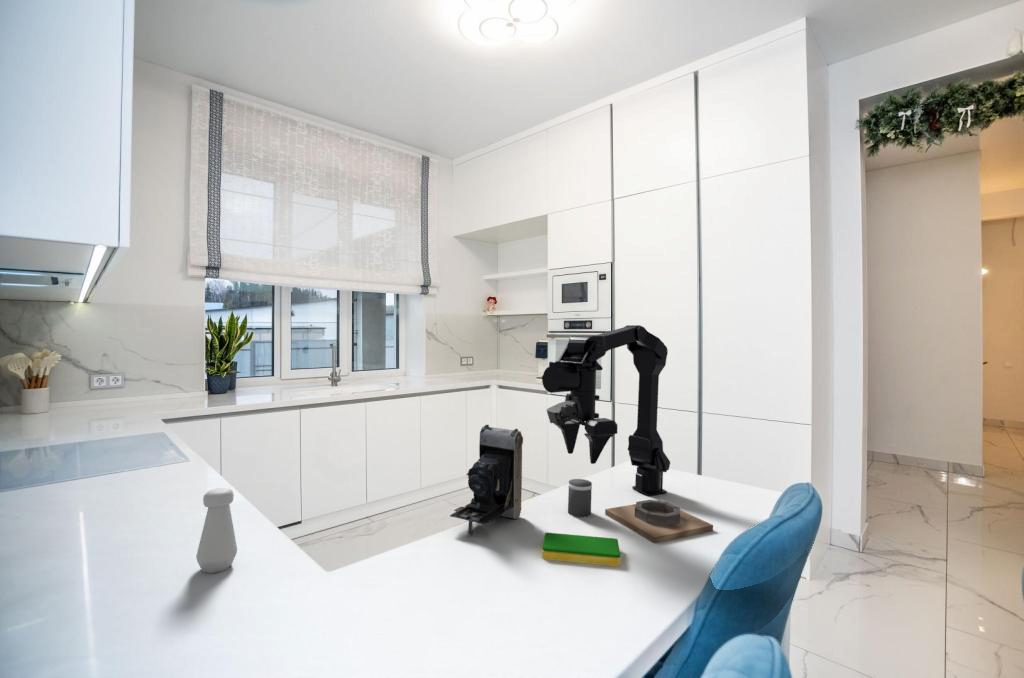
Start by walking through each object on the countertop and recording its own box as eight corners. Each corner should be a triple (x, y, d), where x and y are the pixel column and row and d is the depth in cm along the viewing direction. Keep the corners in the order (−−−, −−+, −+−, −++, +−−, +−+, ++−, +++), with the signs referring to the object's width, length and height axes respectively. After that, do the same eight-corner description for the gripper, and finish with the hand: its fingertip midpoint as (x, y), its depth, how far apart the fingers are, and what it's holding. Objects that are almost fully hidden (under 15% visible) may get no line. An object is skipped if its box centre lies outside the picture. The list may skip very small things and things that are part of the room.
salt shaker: (193, 579, 75) (195, 498, 74) (198, 563, 80) (199, 487, 80) (235, 571, 77) (237, 493, 77) (238, 556, 82) (239, 483, 82)
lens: (582, 507, 111) (583, 477, 111) (595, 515, 106) (596, 484, 106) (563, 510, 108) (564, 480, 108) (575, 518, 104) (576, 487, 104)
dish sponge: (545, 544, 92) (545, 531, 92) (617, 550, 90) (617, 538, 90) (541, 561, 85) (542, 547, 85) (620, 568, 82) (620, 555, 82)
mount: (659, 505, 113) (659, 491, 113) (712, 530, 99) (713, 515, 99) (605, 514, 107) (605, 500, 107) (654, 543, 92) (655, 527, 92)
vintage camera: (446, 533, 95) (448, 437, 94) (485, 507, 109) (487, 422, 108) (487, 545, 91) (489, 444, 90) (522, 516, 104) (525, 428, 103)
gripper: (532, 386, 112) (531, 451, 112) (576, 396, 95) (574, 473, 95) (572, 385, 117) (570, 447, 117) (620, 395, 100) (618, 467, 100)
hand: (581, 458), depth 107 cm, fingers open, 9 cm apart
